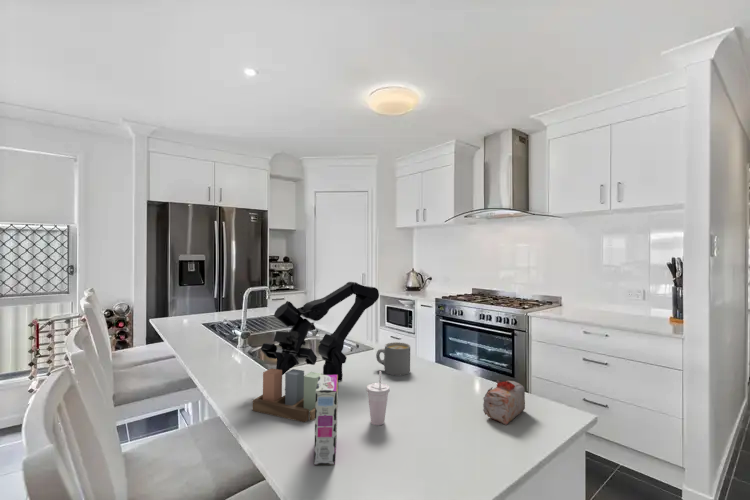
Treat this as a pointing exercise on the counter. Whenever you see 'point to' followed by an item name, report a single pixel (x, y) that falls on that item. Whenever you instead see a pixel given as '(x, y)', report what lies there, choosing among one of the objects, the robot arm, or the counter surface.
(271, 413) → the wooden slotted rack
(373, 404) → the smoothie
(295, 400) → the grey tall block
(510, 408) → the food item
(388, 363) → the coffee mug
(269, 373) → the pink rectangular block
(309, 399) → the sage key
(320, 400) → the candy bar box
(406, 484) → the counter surface
